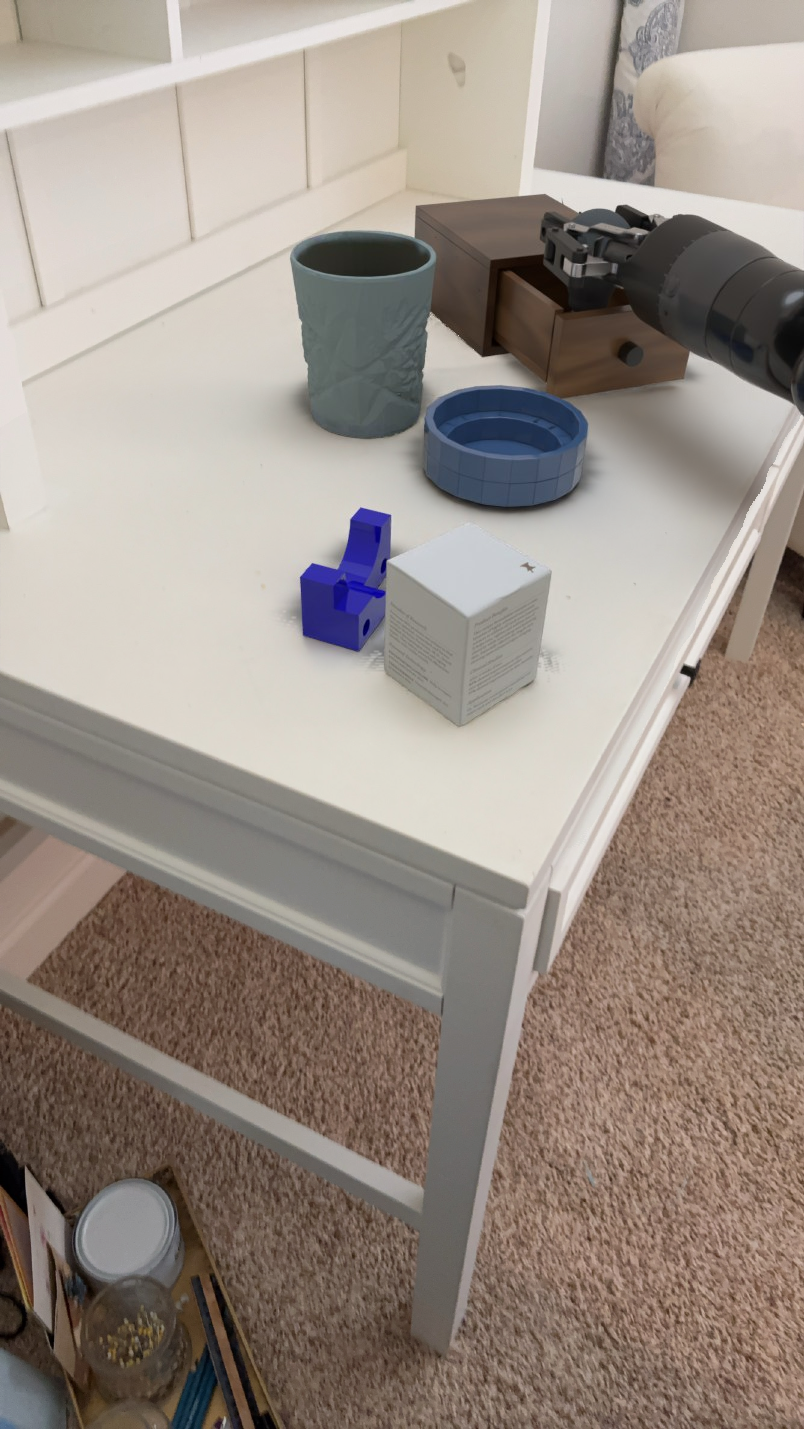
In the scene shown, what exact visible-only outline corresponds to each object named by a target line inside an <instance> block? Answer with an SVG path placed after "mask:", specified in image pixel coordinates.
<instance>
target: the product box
mask: <svg viewBox="0 0 804 1429" xmlns="http://www.w3.org/2000/svg"><path fill="white" fill-rule="evenodd" d="M552 574H553V571H552V569H551V568H549V567H548V566H546V565H545V564H543V563H540V562H539V561H537V560H536V559H534V558H533V557H531V556H529V555H527V554H525V553H523V552H522V551H520V550H518V549H517V548H515V547H513V545H510V544H508V543H506V542H505V541H503V540H501V539H500V538H498V537H496V536H495V535H493V534H492V533H490V532H488V531H486V530H485V529H483V528H481V527H479V526H478V525H476V524H475V523H473V522H471V521H468V522H465V523H464V524H461V525H459V526H458V527H455V528H453V529H451V530H449V531H447V532H444V533H442V534H440V535H438V536H437V537H434V538H432V539H430V540H428V541H426V542H424V543H422V544H420V545H417V546H415V547H413V548H411V549H409V550H407V551H404V552H403V553H400V554H398V555H395V556H394V557H392V558H391V557H390V559H389V560H387V572H386V577H385V591H386V608H385V616H384V619H385V620H384V646H383V647H384V648H383V650H384V651H383V652H384V654H383V669H384V671H385V672H386V674H387V675H388V676H389V677H391V678H392V679H393V680H394V681H396V682H398V683H399V684H400V685H402V686H403V687H405V688H406V689H407V690H408V691H410V692H412V693H413V694H414V695H416V696H417V697H418V698H420V700H422V701H424V702H425V703H427V704H428V705H429V706H430V707H431V708H433V710H436V712H438V713H439V714H440V715H442V716H443V717H444V718H446V719H447V720H449V721H450V723H453V724H454V725H456V726H457V727H463V726H464V725H466V724H467V723H469V722H470V721H472V720H474V718H477V717H478V716H479V715H481V714H482V713H484V712H486V711H487V710H489V709H490V708H492V707H493V706H495V705H497V704H499V703H500V702H501V701H503V700H504V699H506V698H507V697H509V696H510V695H512V694H514V693H515V692H517V691H518V690H520V689H521V688H523V687H525V686H526V685H528V684H529V683H531V682H532V681H534V680H535V679H536V678H537V674H538V668H539V667H538V666H539V660H540V654H541V648H542V641H543V634H544V629H545V628H544V627H545V620H546V613H547V606H548V601H549V594H550V588H551V581H552Z"/></svg>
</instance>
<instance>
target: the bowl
mask: <svg viewBox="0 0 804 1429" xmlns="http://www.w3.org/2000/svg"><path fill="white" fill-rule="evenodd" d="M425 412H426V413H425V416H424V421H423V422H424V423H423V443H422V444H423V446H422V466H423V469H424V473H425V475H426V476H427V478H428V479H430V480H431V482H433V483H434V484H435V485H436V486H437V487H438V488H439V489H440V490H443V491H444V492H447V493H448V494H450V495H452V496H454V497H456V498H459V499H463V500H466V501H470V502H472V503H476V504H481V505H486V506H493V507H494V506H495V507H503V508H506V507H508V508H510V507H511V508H512V507H527V506H528V507H529V506H530V507H531V506H535V505H541V504H545V503H548V502H551V501H552V502H553V501H555V500H557V499H559V498H561V497H563V496H565V495H567V494H569V493H570V492H572V491H573V489H574V488H575V487H576V486H577V484H578V483H579V482H580V481H581V476H582V470H583V465H584V459H585V458H584V457H585V453H586V447H587V440H588V435H589V422H588V420H587V419H586V417H585V415H584V414H583V413H582V411H581V410H580V409H578V408H577V407H576V406H575V405H573V404H571V403H570V402H569V401H567V400H565V399H561V398H558V397H556V396H554V395H551V394H549V393H546V391H542V390H539V389H538V390H537V389H533V388H529V387H522V386H514V385H503V384H497V385H496V384H494V385H475V386H469V387H465V388H460V389H456V390H453V391H450V392H448V393H446V394H443V395H441V396H439V397H437V398H436V399H435V400H434V401H433V402H431V403H430V404H429V405H428V407H427V410H426V411H425Z"/></svg>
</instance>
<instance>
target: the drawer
mask: <svg viewBox="0 0 804 1429" xmlns="http://www.w3.org/2000/svg"><path fill="white" fill-rule="evenodd" d="M568 299H569V293H568V289H567V285H565V284H564V283H563V282H562V281H561V280H560V279H559V278H558V277H557V276H555V275H554V274H553V273H552V272H551V271H550V270H549V269H548V268H547V267H546V266H544V265H543V264H536V265H528V266H519V267H510V268H501V269H498V277H497V288H496V299H495V310H494V320H493V331H492V338H493V339H494V340H495V341H497V342H498V343H499V344H500V345H501V346H502V347H504V348H505V349H506V350H507V351H508V352H510V353H509V354H510V355H512V356H513V357H514V358H515V359H516V360H518V361H519V362H520V363H521V364H522V365H523V366H525V367H526V368H527V369H528V370H530V371H531V372H532V373H533V374H534V375H536V377H538V378H539V379H540V380H541V381H543V382H544V383H546V386H545V392H546V393H549V394H551V395H554V396H556V397H558V398H561V399H563V400H565V399H569V398H576V397H581V396H589V395H594V394H600V393H605V392H611V391H618V390H624V389H625V390H626V389H631V388H635V387H636V388H637V387H645V386H649V385H656V384H662V383H667V382H673V381H680V380H684V379H685V375H686V372H687V371H686V370H687V366H688V363H689V362H688V361H689V358H690V353H691V352H690V351H689V350H687V349H686V348H684V347H682V346H681V345H679V344H678V343H676V342H674V341H673V340H671V339H670V338H668V337H667V336H665V335H663V334H662V333H660V332H659V331H657V330H656V329H654V328H652V327H651V326H649V325H648V324H646V323H645V322H643V321H641V320H640V319H639V318H638V317H637V316H636V315H635V313H634V312H633V310H632V308H631V306H630V304H629V301H628V298H627V296H626V293H625V291H624V289H620V288H617V287H616V288H615V290H614V292H613V293H612V295H611V296H610V298H609V304H608V306H607V308H602V309H595V310H587V311H580V312H572V309H571V307H570V306H569V303H568ZM571 312H572V313H571Z"/></svg>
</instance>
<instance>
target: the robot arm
mask: <svg viewBox="0 0 804 1429" xmlns="http://www.w3.org/2000/svg"><path fill="white" fill-rule="evenodd" d="M614 212H616V213H618V214H619V215H620V216H621V217H623V218H624V219H625V221H626V222H627V223H628V224H629V226H630V228H631V229H624V228H620V227H616V226H612V225H608V224H604V223H599V224H596V225H594V226H591V227H587V226H583V225H579V224H576V223H575V222H573V221H571V220H569V219H567V218H566V217H564V216H562V215H560V214H558V213H557V212H555V211H554V212H546V213H545V214H544V218H543V219H542V221H541V230H540V240H541V241H542V242H544V243H545V252H544V260H543V265H544V266H546V267H547V268H548V269H549V270H550V271H551V272H552V273H553V274H554V275H555V276H557V277H558V278H559V279H560V280H561V281H562V282H563V283H564V284H565V285H567V286H568V287H570V288H572V289H578V288H582V287H583V286H584V279H585V276H592V277H595V278H598V279H602V280H604V281H606V282H608V283H611V284H614V286H615V287H617V288H620V289H624V291H625V293H626V296H627V298H628V301H629V304H630V306H631V308H632V310H633V312H634V313H635V315H636V316H637V317H638V318H639V319H640V320H641V321H643V322H645V323H646V324H648V325H649V326H651V327H652V328H654V329H656V330H657V331H659V332H660V333H662V334H663V335H665V336H667V337H668V338H670V339H671V340H673V341H674V342H676V343H678V344H679V345H681V346H682V347H684V348H686V349H687V350H689V351H690V353H691V354H693V355H695V356H697V357H700V358H702V359H704V360H707V361H710V362H712V363H715V364H716V365H718V366H720V367H721V368H723V369H725V370H726V371H728V372H729V373H731V374H733V375H734V376H736V377H738V378H739V379H741V380H742V381H745V382H746V383H748V384H750V385H751V386H754V387H755V388H758V389H760V390H763V391H764V392H767V393H769V394H772V395H774V396H777V397H778V398H781V399H782V400H784V401H786V402H788V403H790V404H792V405H793V406H795V407H796V409H797V410H798V412H799V413H800V415H801V416H802V417H804V270H803V269H802V268H800V267H797V266H795V265H793V264H791V263H789V262H787V261H785V260H783V259H781V258H780V257H778V256H777V255H775V254H774V253H773V252H772V251H770V250H769V249H768V248H766V247H765V246H763V245H761V244H759V243H758V242H756V241H754V240H751V239H749V238H748V237H746V236H743V235H741V234H739V233H737V232H734V231H733V230H730V229H728V228H726V227H724V226H721V225H719V224H718V223H715V222H713V221H711V220H709V219H707V218H705V217H703V216H699V215H696V214H692V213H691V214H689V213H688V214H682V213H678V214H674V215H672V217H670V218H669V217H665V216H663V215H662V214H660V213H653V214H646V213H645V212H642V211H641V210H638V209H637V208H635V207H634V206H633V207H632V206H630V205H629V204H617V205H616V207H615V210H614ZM578 237H581V238H584V239H585V240H586V244H583V245H581V244H580V243H579V242H578ZM604 237H607V238H610V239H609V240H608V241H607V243H606V247H605V251H604V255H603V258H601V253H602V246H603V240H604Z"/></svg>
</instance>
